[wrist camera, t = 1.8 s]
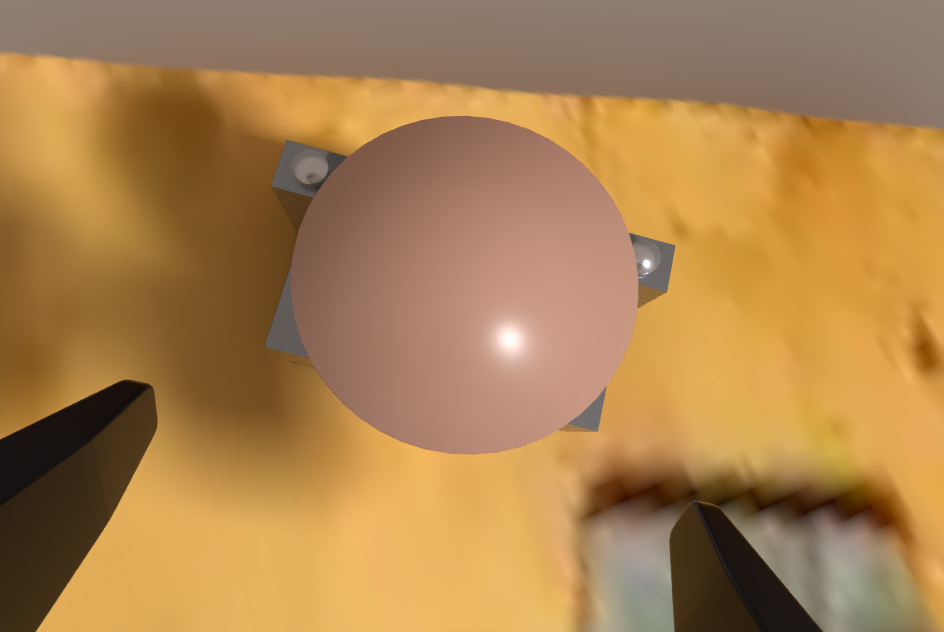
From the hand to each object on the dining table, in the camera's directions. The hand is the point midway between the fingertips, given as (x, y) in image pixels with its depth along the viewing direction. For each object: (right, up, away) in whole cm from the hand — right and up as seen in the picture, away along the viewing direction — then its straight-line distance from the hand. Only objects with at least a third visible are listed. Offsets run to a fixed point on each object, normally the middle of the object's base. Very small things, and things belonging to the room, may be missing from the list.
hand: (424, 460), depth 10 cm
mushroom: (0, +1, +10) cm, 10 cm away
